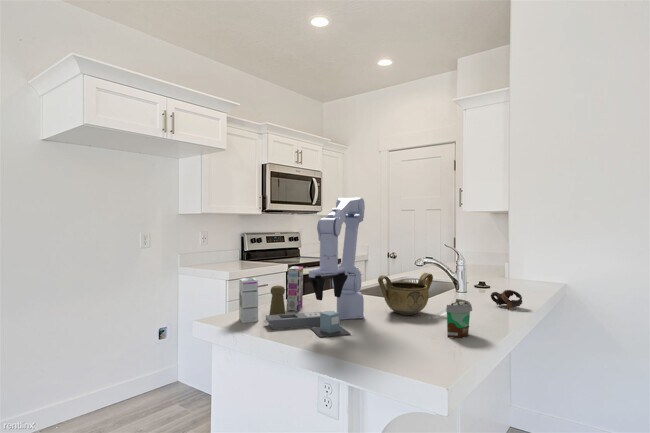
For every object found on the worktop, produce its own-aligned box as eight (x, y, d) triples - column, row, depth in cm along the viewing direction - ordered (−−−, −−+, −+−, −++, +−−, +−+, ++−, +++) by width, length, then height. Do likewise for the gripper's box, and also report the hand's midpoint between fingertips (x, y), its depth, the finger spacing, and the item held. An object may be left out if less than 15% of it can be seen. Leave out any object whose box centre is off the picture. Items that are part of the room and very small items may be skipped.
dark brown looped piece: (519, 307, 165) (524, 292, 161) (517, 321, 157) (523, 306, 153) (489, 297, 169) (494, 282, 165) (486, 310, 162) (491, 295, 158)
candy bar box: (299, 312, 150) (299, 269, 150) (286, 311, 150) (286, 269, 150) (303, 305, 161) (303, 266, 161) (291, 305, 161) (291, 265, 161)
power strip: (333, 319, 139) (333, 308, 139) (339, 324, 132) (340, 313, 132) (265, 324, 131) (265, 313, 131) (269, 329, 125) (269, 317, 125)
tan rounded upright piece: (282, 318, 139) (283, 287, 140) (266, 317, 141) (267, 286, 141) (287, 314, 145) (288, 285, 146) (272, 313, 147) (272, 284, 147)
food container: (467, 342, 114) (467, 307, 114) (446, 338, 117) (446, 305, 117) (475, 332, 124) (476, 300, 125) (456, 329, 128) (456, 298, 128)
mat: (339, 326, 129) (339, 325, 129) (350, 335, 120) (350, 333, 120) (310, 328, 126) (310, 327, 126) (319, 337, 117) (319, 336, 117)
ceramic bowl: (419, 306, 161) (419, 270, 161) (444, 316, 145) (444, 275, 145) (370, 310, 154) (370, 272, 154) (390, 320, 138) (391, 278, 138)
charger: (330, 327, 126) (330, 310, 126) (340, 330, 123) (340, 313, 123) (320, 330, 123) (320, 312, 123) (329, 333, 120) (330, 315, 120)
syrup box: (258, 321, 134) (259, 279, 135) (241, 323, 132) (241, 280, 132) (255, 318, 140) (255, 277, 140) (238, 319, 137) (238, 278, 138)
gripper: (337, 253, 132) (337, 293, 132) (303, 255, 123) (302, 299, 122) (351, 255, 127) (351, 297, 126) (317, 257, 117) (316, 302, 117)
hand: (328, 298), depth 124 cm, fingers open, 7 cm apart
